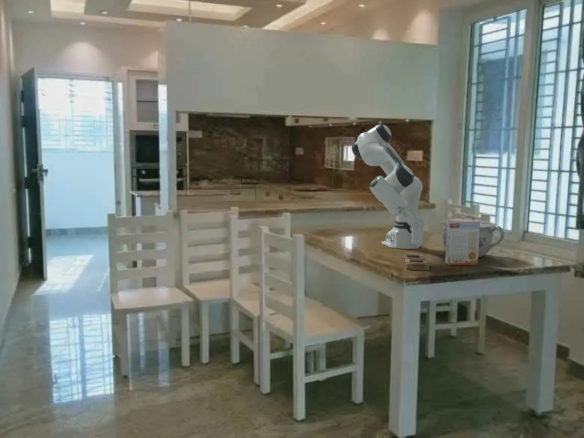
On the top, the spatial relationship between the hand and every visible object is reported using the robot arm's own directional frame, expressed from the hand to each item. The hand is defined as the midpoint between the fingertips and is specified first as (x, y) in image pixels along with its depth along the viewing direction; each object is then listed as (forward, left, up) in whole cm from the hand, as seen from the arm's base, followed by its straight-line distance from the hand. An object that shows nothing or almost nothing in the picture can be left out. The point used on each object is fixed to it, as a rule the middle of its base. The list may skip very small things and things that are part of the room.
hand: (419, 228), depth 261 cm
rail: (-5, +3, -18) cm, 19 cm away
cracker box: (+2, +24, -18) cm, 30 cm away
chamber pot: (-14, +41, -18) cm, 47 cm away
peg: (0, -1, -7) cm, 7 cm away
